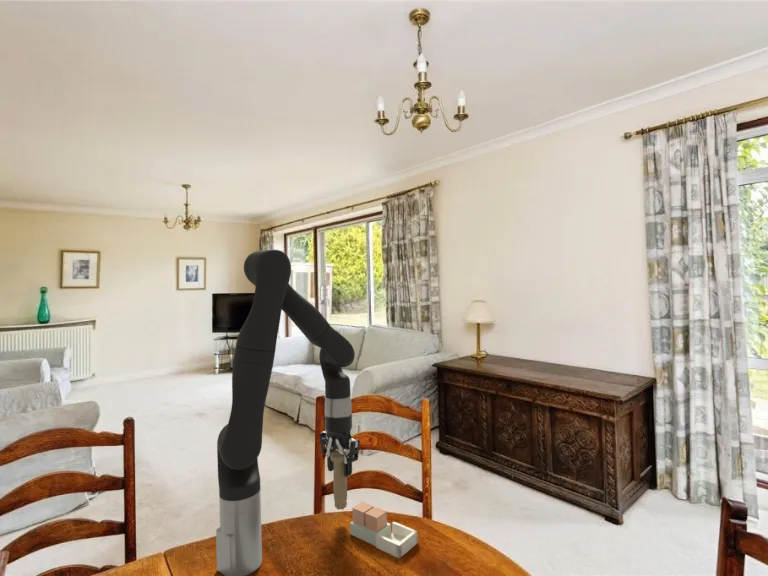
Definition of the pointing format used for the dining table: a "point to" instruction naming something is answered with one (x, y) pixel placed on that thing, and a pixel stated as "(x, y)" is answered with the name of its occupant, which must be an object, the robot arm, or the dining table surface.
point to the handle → (339, 480)
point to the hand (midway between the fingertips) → (339, 472)
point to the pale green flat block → (368, 532)
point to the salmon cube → (376, 519)
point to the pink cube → (361, 512)
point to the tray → (397, 540)
